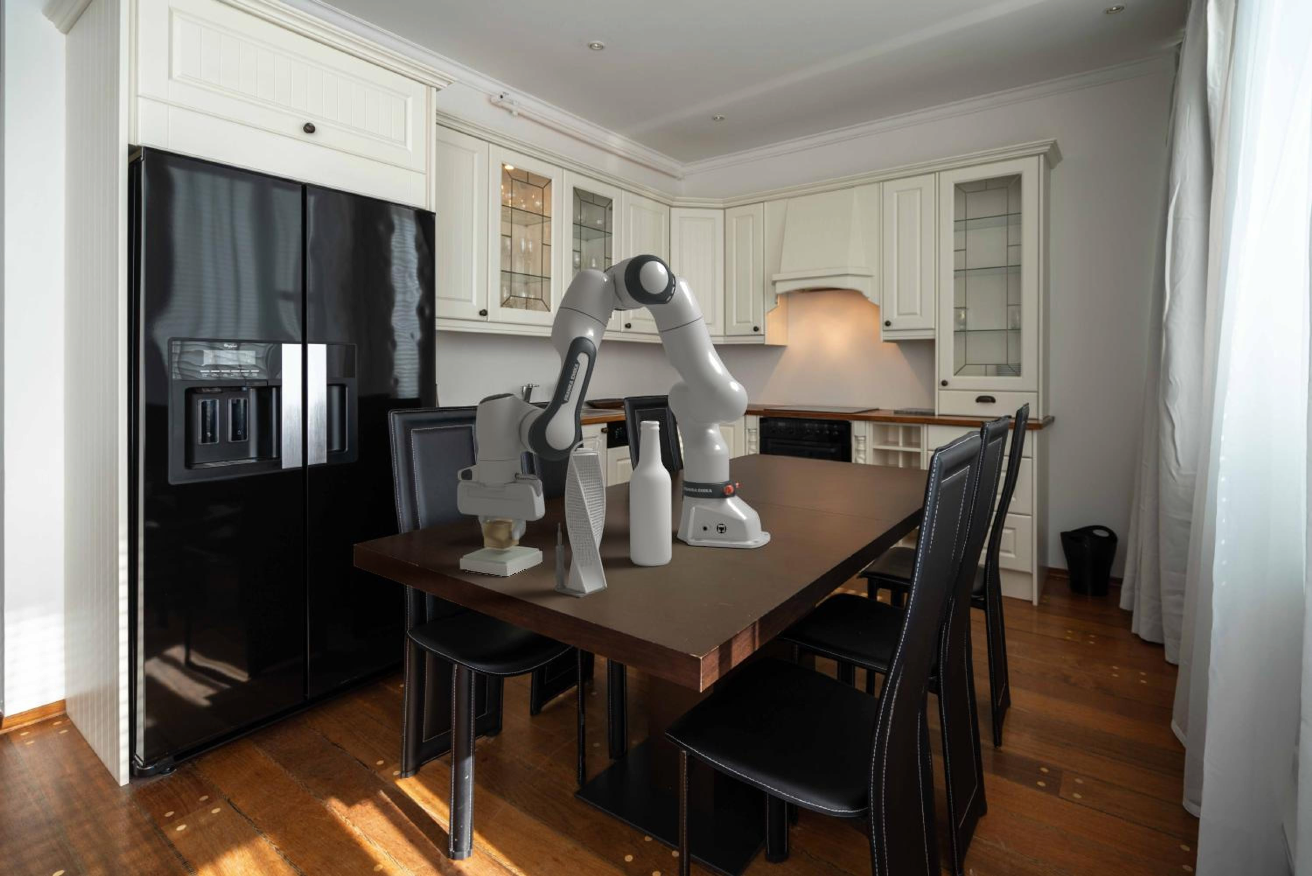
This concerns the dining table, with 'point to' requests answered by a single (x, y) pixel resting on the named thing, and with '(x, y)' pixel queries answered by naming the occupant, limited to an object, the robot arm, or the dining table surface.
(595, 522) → the skyscraper
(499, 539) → the oak cube
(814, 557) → the dining table surface
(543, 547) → the dining table surface
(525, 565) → the stand
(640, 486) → the alcohol
